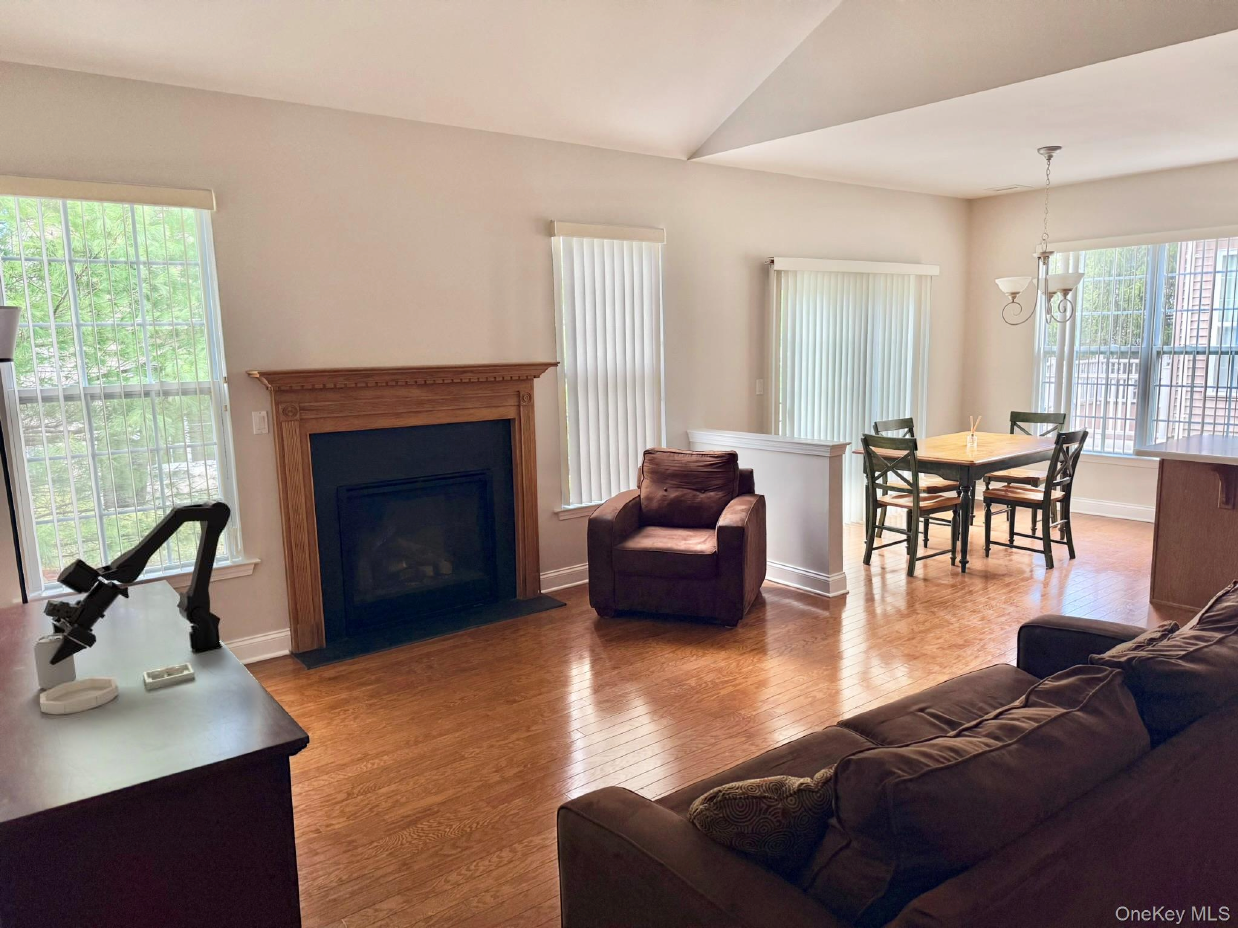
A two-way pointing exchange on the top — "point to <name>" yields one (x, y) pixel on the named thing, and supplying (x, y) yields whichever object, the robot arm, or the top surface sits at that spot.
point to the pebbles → (167, 672)
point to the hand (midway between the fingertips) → (47, 659)
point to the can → (47, 672)
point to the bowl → (78, 695)
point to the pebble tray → (168, 677)
